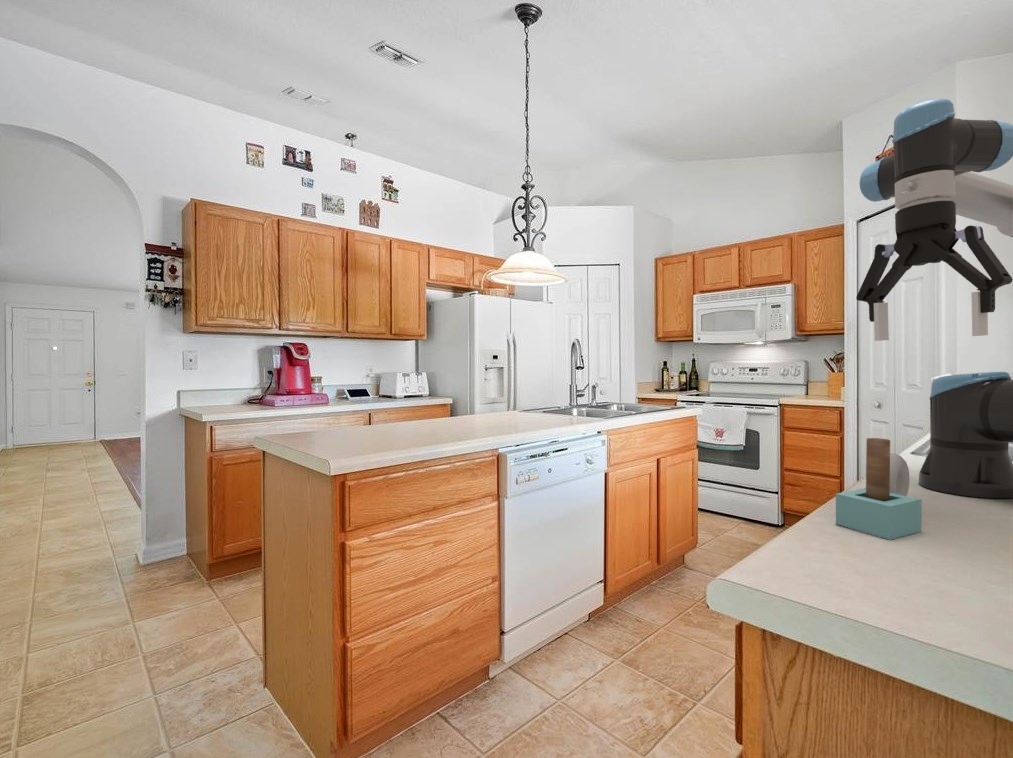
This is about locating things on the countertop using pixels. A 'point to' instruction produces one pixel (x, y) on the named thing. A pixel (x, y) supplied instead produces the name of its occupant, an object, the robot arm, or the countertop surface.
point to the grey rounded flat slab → (898, 475)
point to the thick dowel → (878, 469)
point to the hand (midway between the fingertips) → (927, 338)
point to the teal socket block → (879, 514)
